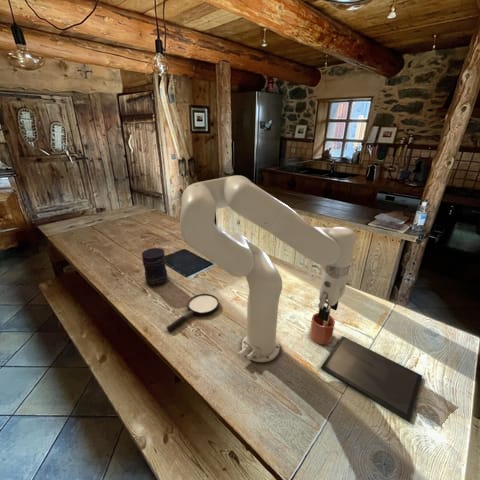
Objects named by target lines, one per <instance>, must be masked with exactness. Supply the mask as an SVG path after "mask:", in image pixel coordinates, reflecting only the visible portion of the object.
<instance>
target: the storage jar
mask: <svg viewBox="0 0 480 480" xmlns="http://www.w3.org/2000/svg"><path fill="white" fill-rule="evenodd" d="M141 258H142V260H141V261H142V266H143V267H144V279H145V281H146V285H147V286H149V287H152V288H157V287H161V286H163V285H165V284H167V282H168V269H167V267H166V256H165V250H164V249H162V248H159V247H153V248H147V249H145V250H144V251H142V253H141Z"/></svg>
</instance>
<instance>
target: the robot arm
mask: <svg viewBox="0 0 480 480" xmlns="http://www.w3.org/2000/svg"><path fill="white" fill-rule="evenodd" d="M227 207H229V208H230V209H231V210H232V211H233V212H234V213H236V214H237V215H239V216H241V217H242V218H244V219H246V220H248V221H249V222H251V223H252V224H254V225H256V226H258V227H259V228H261V229H263V230H264V231H267V233H269V234H271V235H272V236H274V238H276V239H278V240H279V241H281V242H282V243H284V244H285V245H287V246H289V247H290V248H291V249H292V250H294V251H295V252H297V253H299V254H300V255H302V256H303V257H305V258H307V259H308V260H310V261H312V262H314V263H315V264H317V265H319V266H322V272H323V276H322V278H321V283H320V288H319V294H318V300H319V303H318V305H317V307H318V313H319V314H318V318H320V319H322V320H324V321H328V317H329V312H330V313H331V310H334V311H337V310H338V307H339V301H340V300H341V298H342V297H343V296H344V295H345V290H346V286H347V285H346V284H347V277H348V275H349V271H350V266H351V261H352V256H353V251H354V246H355V243H356V242H355V241H356V233H355V232H354V231H353V230H352V229H350V228H347V227H344V226H343V227H342V226H334V227H331V228H330V227H319V226H313V225H311V224H310V223H309V222H307V221H306V220H305V219H303V218H302V217H301V215H299V214H298V213H297V212H296V211H295V210H293V209H292V208H291V207H290V206H288V205H287V204H285V203H284V202H282V201H281V200H279V199H277V198H276V197H274V195H272V194H270V193H268V192H267V191H265V190H264V189H262V188H261V187H259V186H258V185H256V184H255V183H253V182H252V181H251V180H250V179H249V178H247V177H246V176H243V175H237V174H236V175H229V176H224V177H219V178H214V179H207V180H203V181H197V182H193V183H192V184H190V185H188V186H187V187H186V188H184V190H183V192H182V194H181V205H180V216H179V232H180V235H181V237H182V239H183V240H184V242H185V243H186V244H187V245H188V247H190V248H192V249H193V250H195V252H197V253H199V254H201V255H202V256H203V257H205V258H206V259H208V261H210V262H211V263H213V264H215V265H216V266H217V267H219V268H220V269H221V270H223V271H224V272H226V273H227V274H229V275H231V276H232V277H236V278H242V277H245V279H246V282H247V285H248V296H247V300H246V301H247V302H246V335H245V336H244V338H243V339H242V340H241V341H242V342H241V349H240V351H238V352H237V357H238V358H239V359H243V358H244V357H246V358H247V360H249V361H250V360H251V361H253V362H256V363H267V362H271V361H273V360H274V359H276V358H277V357H278V356H279V353H280V348H281V346H280V341H279V340H278V339H277V326H278V314H279V302H280V297H281V293H282V291H283V279H282V276H281V274H280V272H279V270H278V269H277V267H276V265H275V264H274V262H273V261H272V259H271V258H270V257H269V255H268V254H267V253H266V252H265V251H264V250H263V249H261V248H260V247H259V246H258V245H256V244H255V243H253V242H252V241H251V240H249V239H248V238H247V237H245V236H244V235H243V234H241V233H239V232H235V231H230V232H226V231H225V230H224V229H222V228H221V227H219V226H217V225H216V222H215V219H216V216H217V215H216V214H217V209H224V208H227ZM325 304H327V305H326V306H325ZM326 307H327V308H326ZM330 307H331V310H330V311H329V308H330Z"/></svg>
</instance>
